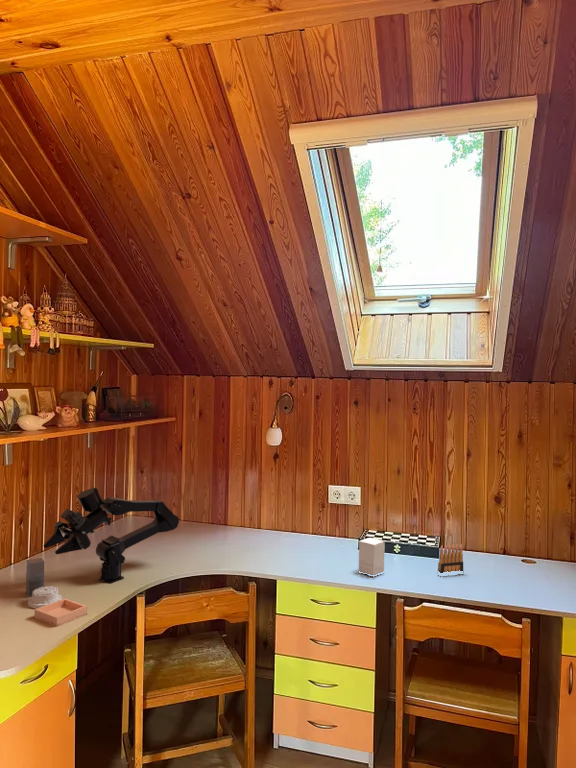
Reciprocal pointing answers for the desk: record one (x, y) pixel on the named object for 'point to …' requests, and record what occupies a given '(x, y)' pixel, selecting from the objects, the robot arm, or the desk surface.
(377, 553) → the supplement box
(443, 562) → the ammunition clip
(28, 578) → the graphite square block
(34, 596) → the mechanical component
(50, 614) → the terracotta bin
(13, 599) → the desk surface
